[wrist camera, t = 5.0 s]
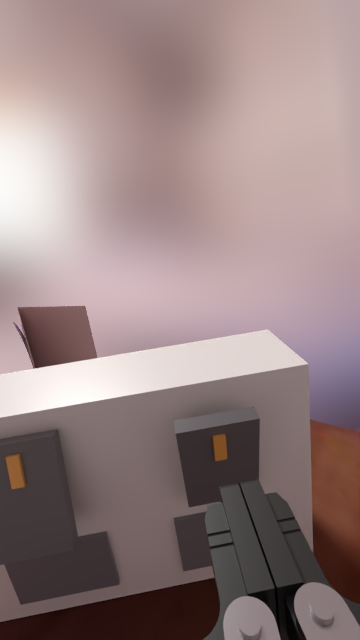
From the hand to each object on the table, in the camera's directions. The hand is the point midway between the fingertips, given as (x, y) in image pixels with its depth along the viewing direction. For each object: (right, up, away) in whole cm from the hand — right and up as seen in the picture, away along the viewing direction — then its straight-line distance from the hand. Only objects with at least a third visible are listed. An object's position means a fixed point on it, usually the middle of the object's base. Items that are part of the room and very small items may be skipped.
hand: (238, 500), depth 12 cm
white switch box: (-4, -10, +11) cm, 16 cm away
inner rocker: (-9, -5, +4) cm, 12 cm away
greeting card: (-15, -6, +29) cm, 33 cm away
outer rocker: (0, -3, +6) cm, 7 cm away
